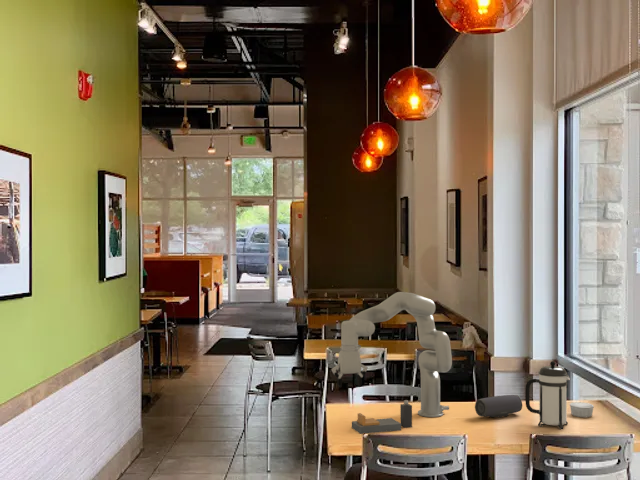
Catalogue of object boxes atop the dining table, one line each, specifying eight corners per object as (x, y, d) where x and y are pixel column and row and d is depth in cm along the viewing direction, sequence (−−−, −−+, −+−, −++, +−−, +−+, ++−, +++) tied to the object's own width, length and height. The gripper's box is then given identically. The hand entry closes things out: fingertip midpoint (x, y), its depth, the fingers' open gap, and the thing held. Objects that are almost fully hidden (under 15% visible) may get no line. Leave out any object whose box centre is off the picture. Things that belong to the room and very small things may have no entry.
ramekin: (586, 419, 345) (586, 408, 345) (565, 415, 353) (565, 404, 353) (598, 415, 352) (598, 404, 352) (577, 411, 360) (576, 401, 360)
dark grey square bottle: (408, 425, 335) (408, 399, 335) (412, 427, 331) (411, 401, 331) (400, 425, 334) (400, 400, 334) (404, 427, 330) (404, 401, 330)
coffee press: (558, 420, 342) (558, 357, 342) (576, 429, 326) (575, 363, 326) (524, 422, 339) (524, 358, 339) (540, 430, 323) (540, 364, 324)
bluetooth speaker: (510, 412, 360) (510, 392, 360) (523, 416, 351) (523, 395, 351) (474, 416, 350) (473, 396, 350) (486, 421, 342) (486, 400, 342)
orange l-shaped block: (373, 420, 331) (372, 411, 331) (379, 424, 324) (379, 415, 324) (356, 421, 329) (356, 412, 329) (363, 425, 321) (363, 416, 321)
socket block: (391, 424, 336) (391, 417, 336) (401, 430, 325) (401, 423, 325) (351, 427, 330) (351, 421, 330) (360, 434, 319) (360, 427, 319)
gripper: (364, 346, 330) (364, 383, 330) (328, 347, 325) (328, 385, 325) (370, 348, 323) (370, 386, 323) (334, 350, 318) (334, 389, 318)
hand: (349, 386), depth 324 cm, fingers open, 8 cm apart
